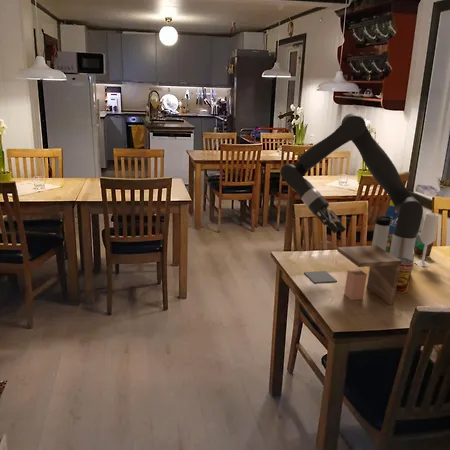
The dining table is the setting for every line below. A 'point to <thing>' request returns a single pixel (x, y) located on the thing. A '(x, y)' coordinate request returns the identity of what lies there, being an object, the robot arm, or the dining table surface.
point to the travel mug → (381, 232)
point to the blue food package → (391, 223)
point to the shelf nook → (376, 269)
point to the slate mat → (320, 277)
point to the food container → (421, 246)
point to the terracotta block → (355, 284)
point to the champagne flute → (428, 234)
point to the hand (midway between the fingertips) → (340, 231)
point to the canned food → (404, 274)
